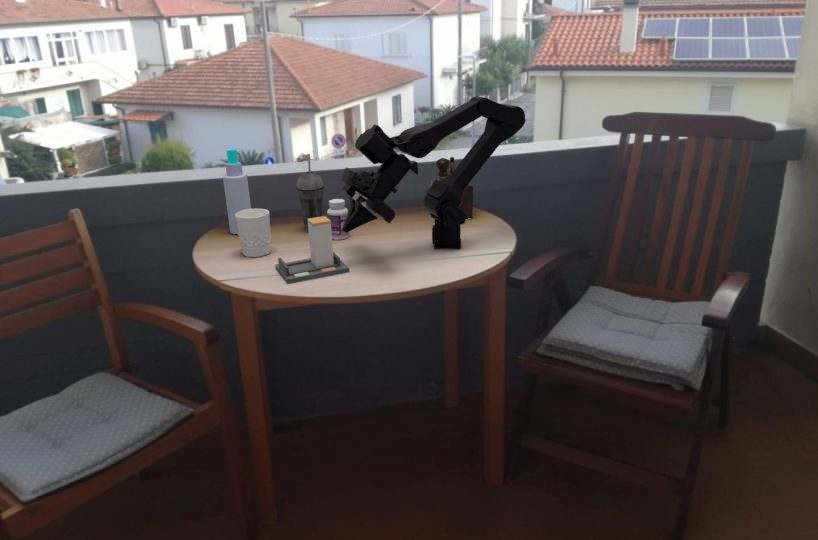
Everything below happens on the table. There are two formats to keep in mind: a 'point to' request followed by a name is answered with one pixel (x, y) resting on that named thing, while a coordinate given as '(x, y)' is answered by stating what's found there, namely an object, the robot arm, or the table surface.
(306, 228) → the beverage cup
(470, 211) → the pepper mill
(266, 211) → the white cup
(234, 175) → the spray bottle
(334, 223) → the pill bottle
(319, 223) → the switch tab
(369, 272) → the table surface
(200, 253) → the table surface
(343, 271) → the switch board
